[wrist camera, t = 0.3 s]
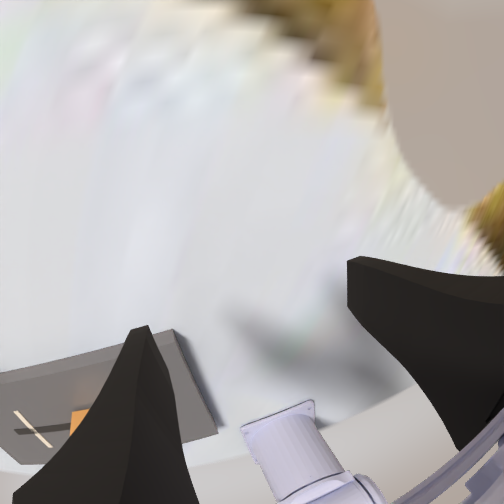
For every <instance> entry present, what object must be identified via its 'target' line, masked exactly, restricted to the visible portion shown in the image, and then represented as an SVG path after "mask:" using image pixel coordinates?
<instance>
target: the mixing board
mask: <svg viewBox="0 0 504 504" xmlns="http://www.w3.org/2000/svg"><path fill="white" fill-rule="evenodd" d="M153 338H154V340H155V342H156V344H157V346H158V349H159V351H160V353H161V355H162V357H163V359H164V361H165V363H166V366H167V368H168V370H169V374H170V378H171V382H172V386H173V390H174V394H175V401H176V409H177V416H178V423H179V430H180V436H181V443H182V444H183V443H187V442H191V441H194V440H198V439H202V438H205V437H209V436H212V435H215V434H219V433H218V430H217V427H216V424H215V421H214V419H213V417H212V415H211V413H210V411H209V409H208V407H207V405H206V403H205V401H204V399H203V397H202V395H201V393H200V391H199V389H198V386H197V384H196V382H195V380H194V378H193V376H192V373H191V371H190V369H189V367H188V365H187V362H186V360H185V358H184V355H183V353H182V351H181V348H180V346H179V344H178V341H177V339H176V337H175V334H174V332H173V329H171V330H167V331H164V332H160V333H157V334H154V335H153ZM123 345H124V343H122V344H118V345H115V346H111V347H107V348H103V349H100V350H96V351H92V352H88V353H84V354H80V355H76V356H72V357H68V358H64V359H60V360H56V361H52V362H48V363H43V364H39V365H35V366H30V367H26V368H21V369H17V370H12V371H7V372H2V373H0V447H1V448H2V449H3V450H4V451H5V452H7V453H8V454H9V455H10V456H11V457H12V458H13V459H15V460H16V461H17V462H18V463H19V464H21V465H34V464H46V463H47V462H48V461H49V460H50V459H51V458H52V457H53V456H54V455H55V454H56V453H57V452H58V451H59V449H60V448H61V447H62V446H63V445H64V443H65V442H66V441H67V440H68V438H69V437H70V427H71V418H72V412H75V411H81V410H86V409H90V408H91V406H92V405H93V403H94V402H95V400H96V398H97V396H98V395H99V393H100V391H101V389H102V387H103V385H104V384H105V382H106V380H107V378H108V376H109V374H110V372H111V370H112V368H113V366H114V364H115V362H116V360H117V357H118V355H119V353H120V351H121V349H122V347H123Z"/></svg>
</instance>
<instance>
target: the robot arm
mask: <svg viewBox="0 0 504 504" xmlns="http://www.w3.org/2000/svg"><path fill="white" fill-rule="evenodd" d="M347 307H348V308H349V309H350V311H351V312H352V313H353V315H354V316H355V318H356V319H357V320H358V321H359V323H360V324H361V325H362V326H363V327H364V328H365V329H366V330H367V331H368V332H369V333H370V334H371V335H372V336H373V337H374V338H375V339H376V340H377V341H378V342H379V343H380V344H381V345H382V346H383V347H384V348H386V349H387V350H388V351H389V352H390V353H391V354H392V355H393V356H394V357H395V358H396V359H397V360H398V361H399V362H400V363H401V364H402V365H403V366H404V367H405V369H406V370H407V371H408V372H409V374H410V375H411V376H412V377H413V379H414V380H415V381H416V382H417V384H418V385H419V386H420V388H421V389H422V390H423V392H424V393H425V395H426V396H427V398H428V399H429V400H430V402H431V403H432V405H433V406H434V408H435V410H436V411H437V413H438V414H439V416H440V418H441V419H442V421H443V423H444V425H445V427H446V429H447V430H448V432H449V434H450V436H451V438H452V440H453V442H454V444H455V447H456V448H457V449H458V450H459V451H460V452H459V453H458V454H457V455H455V456H454V457H453V458H452V459H451V460H450V461H448V462H447V463H446V464H445V465H443V466H442V467H441V468H440V469H439V470H437V471H436V472H435V473H433V474H432V475H431V476H430V477H428V478H427V479H426V480H424V481H423V482H422V483H420V484H419V485H417V486H416V487H415V488H413V489H412V490H410V491H409V492H407V493H406V494H405V495H403V496H401V497H400V498H398V499H397V500H395V501H394V502H392V503H390V504H429V503H430V502H431V501H433V500H434V499H436V498H437V497H438V496H439V495H441V494H442V493H443V492H444V491H446V490H447V489H448V488H449V487H450V486H452V485H453V484H454V483H455V482H456V481H457V480H458V479H460V478H461V477H462V476H463V475H464V474H465V473H466V472H467V471H468V470H470V469H471V468H472V467H473V466H474V465H475V464H476V463H477V462H478V461H479V460H480V459H481V458H482V457H483V456H484V455H485V454H486V453H487V452H488V451H489V450H490V449H491V448H492V447H493V446H494V444H495V443H496V442H497V441H498V440H499V441H498V446H499V448H498V450H497V451H496V453H495V454H494V455H493V456H492V457H491V458H490V459H489V460H488V461H487V462H486V463H485V464H484V466H482V468H481V469H480V470H479V471H478V472H477V473H476V474H474V475H473V476H472V477H471V478H470V479H469V480H468V481H467V482H466V483H465V486H466V487H467V489H468V490H469V491H470V492H471V494H470V495H469V496H468V497H466V499H464V500H463V501H462V502H461V503H460V504H504V276H493V277H490V276H466V275H457V274H448V273H442V272H436V271H431V270H426V269H421V268H416V267H412V266H407V265H403V264H399V263H394V262H390V261H386V260H381V259H376V258H371V257H365V256H359V257H356V258H353V259H351V260H348V261H347ZM240 430H241V432H242V435H243V437H244V439H245V442H246V444H247V446H248V449H249V451H250V453H251V455H252V458H253V460H254V462H255V464H259V465H260V467H261V469H262V471H263V473H264V475H265V478H266V480H267V482H268V484H269V486H270V489H271V490H272V493H273V495H274V497H275V499H276V501H277V503H276V504H388V503H387V501H386V499H385V497H384V495H383V494H382V492H381V491H380V489H379V488H378V487H377V485H376V484H375V483H374V482H373V481H372V480H371V479H370V478H369V477H368V476H366V475H361V474H356V475H354V476H353V475H352V474H351V473H350V471H349V470H347V471H344V469H343V468H342V466H341V465H340V463H339V461H338V460H337V458H336V457H335V455H334V454H333V452H332V451H331V449H330V448H329V446H328V445H327V443H326V442H325V440H324V439H323V437H322V435H321V434H320V432H319V431H318V429H317V428H316V426H315V413H314V402H313V401H312V400H309V401H307V402H304V403H302V404H300V405H297V406H295V407H293V408H290V409H288V410H285V411H283V412H280V413H278V414H275V415H272V416H270V417H267V418H265V419H262V420H259V421H256V422H254V423H251V424H248V425H245V426H243V427H241V429H240ZM12 504H199V501H198V498H197V496H196V493H195V490H194V487H193V484H192V481H191V478H190V475H189V472H188V469H187V465H186V462H185V458H184V453H183V449H182V443H181V436H180V430H179V423H178V416H177V409H176V401H175V394H174V390H173V386H172V382H171V378H170V374H169V370H168V368H167V366H166V363H165V361H164V359H163V357H162V355H161V353H160V351H159V349H158V346H157V344H156V342H155V340H154V338H153V335H152V333H151V331H150V329H149V326H148V325H146V326H143V327H139V328H135V329H132V330H130V332H129V334H128V336H127V338H126V340H125V342H124V345H123V347H122V349H121V351H120V353H119V355H118V357H117V360H116V362H115V364H114V366H113V368H112V370H111V372H110V374H109V376H108V378H107V380H106V382H105V384H104V385H103V387H102V389H101V391H100V393H99V395H98V396H97V398H96V400H95V402H94V403H93V405H92V406H91V408H90V409H89V411H88V412H87V414H86V415H85V417H84V418H83V420H82V421H81V423H80V424H79V426H78V427H77V428H76V429H75V431H74V432H73V433H72V434H71V436H70V437H69V438H68V440H67V441H66V442H65V443H64V445H63V446H62V447H61V448H60V449H59V451H58V452H57V453H56V454H55V455H54V456H53V457H52V458H51V459H50V460H49V461H48V462H47V463H46V465H45V466H44V467H43V468H42V469H41V470H39V471H38V472H37V473H36V474H35V475H34V476H33V477H32V478H31V479H29V480H28V481H27V482H26V483H25V484H24V485H22V486H21V487H20V488H19V489H18V490H16V491H15V492H14V493H13V500H12Z"/></svg>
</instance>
